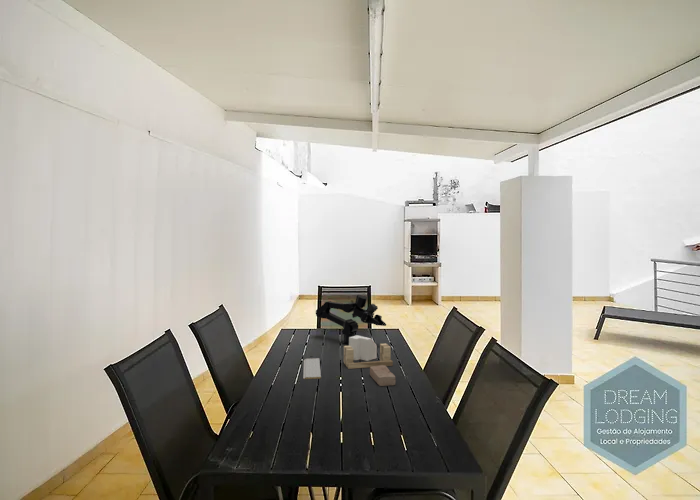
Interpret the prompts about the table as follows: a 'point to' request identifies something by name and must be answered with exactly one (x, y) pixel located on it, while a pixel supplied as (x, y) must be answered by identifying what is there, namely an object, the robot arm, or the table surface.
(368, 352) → the grey faceted lump
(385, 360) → the wooden rack
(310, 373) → the baseboard
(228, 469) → the table surface
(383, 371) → the brick
